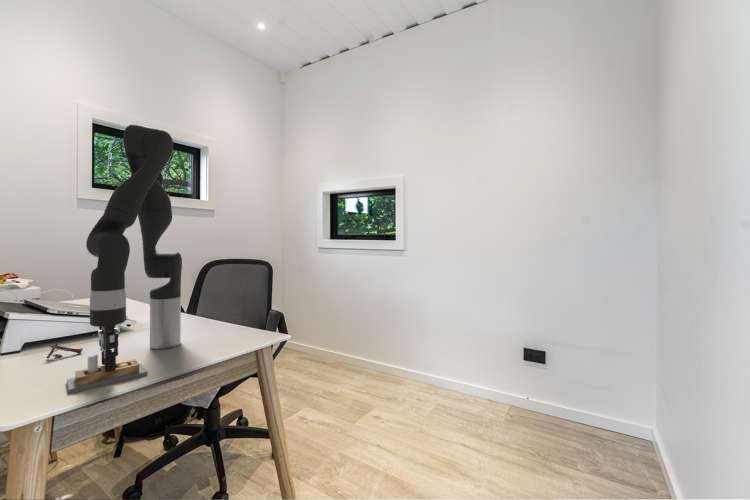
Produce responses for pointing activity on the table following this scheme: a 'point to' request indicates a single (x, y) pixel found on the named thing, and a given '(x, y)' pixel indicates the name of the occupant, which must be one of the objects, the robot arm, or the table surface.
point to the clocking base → (93, 369)
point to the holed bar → (86, 378)
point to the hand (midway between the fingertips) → (108, 367)
